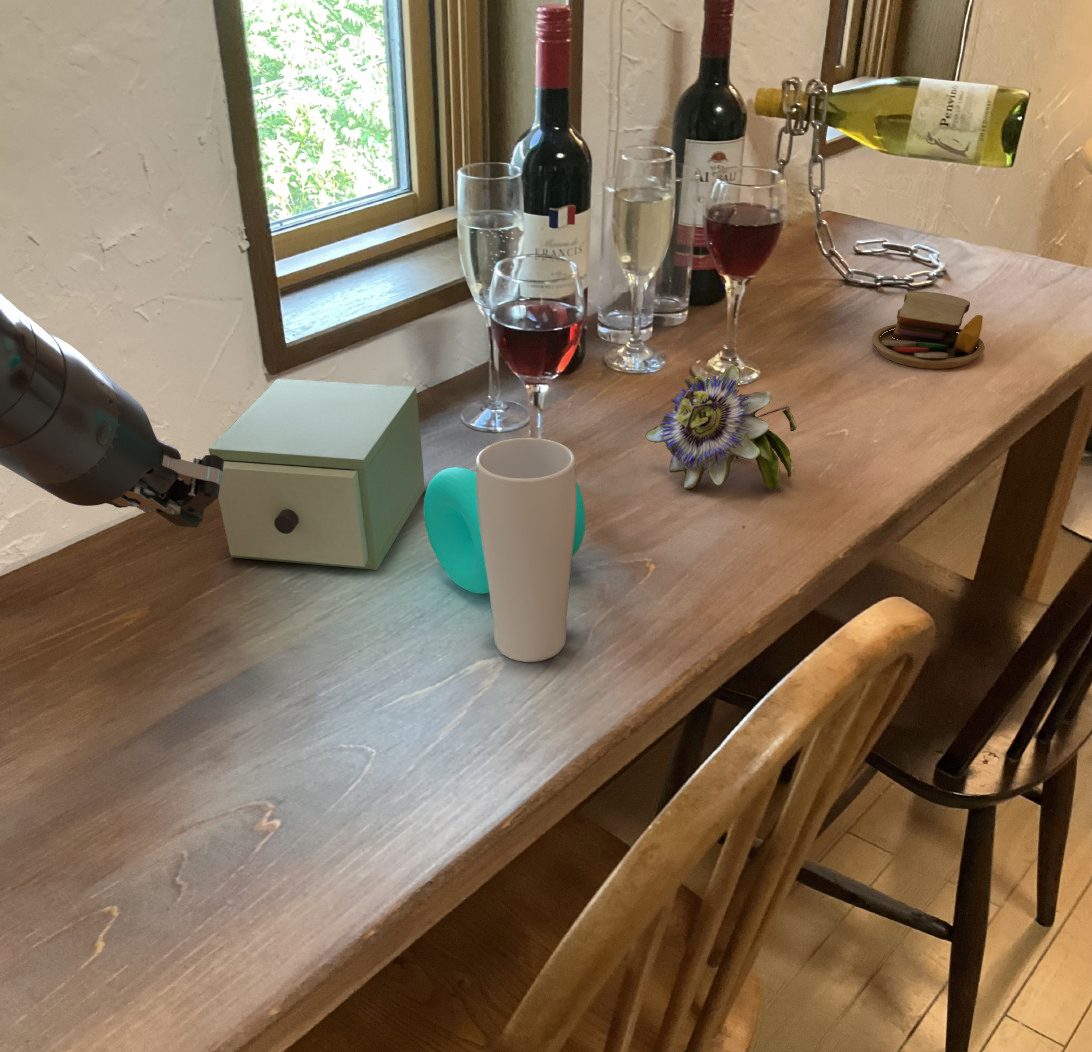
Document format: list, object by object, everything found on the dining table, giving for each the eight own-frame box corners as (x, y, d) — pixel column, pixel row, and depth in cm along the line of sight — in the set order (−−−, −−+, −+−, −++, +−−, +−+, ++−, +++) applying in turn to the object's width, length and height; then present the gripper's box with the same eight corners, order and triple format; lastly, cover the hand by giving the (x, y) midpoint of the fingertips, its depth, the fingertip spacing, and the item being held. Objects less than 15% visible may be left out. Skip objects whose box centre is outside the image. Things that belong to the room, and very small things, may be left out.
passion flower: (689, 538, 107) (619, 435, 103) (736, 475, 113) (672, 374, 109) (784, 506, 99) (711, 391, 94) (829, 439, 105) (764, 328, 100)
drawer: (359, 574, 91) (347, 484, 86) (224, 562, 92) (204, 473, 87) (410, 491, 102) (402, 407, 97) (289, 482, 104) (275, 399, 99)
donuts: (592, 577, 92) (594, 463, 85) (491, 619, 87) (485, 501, 81) (519, 531, 98) (516, 421, 92) (422, 567, 93) (411, 454, 87)
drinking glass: (470, 660, 83) (457, 470, 73) (507, 613, 88) (499, 430, 78) (555, 679, 81) (554, 487, 71) (588, 630, 85) (591, 444, 76)
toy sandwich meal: (855, 359, 128) (861, 317, 125) (891, 324, 137) (899, 284, 134) (965, 379, 123) (975, 336, 120) (996, 341, 132) (1006, 300, 129)
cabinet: (377, 570, 93) (363, 459, 87) (231, 557, 95) (208, 448, 89) (425, 489, 104) (416, 386, 98) (293, 479, 106) (277, 378, 100)
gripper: (174, 360, 63) (287, 469, 80) (-42, 347, 65) (113, 456, 82) (152, 490, 62) (271, 572, 79) (-66, 473, 64) (96, 556, 81)
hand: (190, 513), depth 80 cm, fingers closed
